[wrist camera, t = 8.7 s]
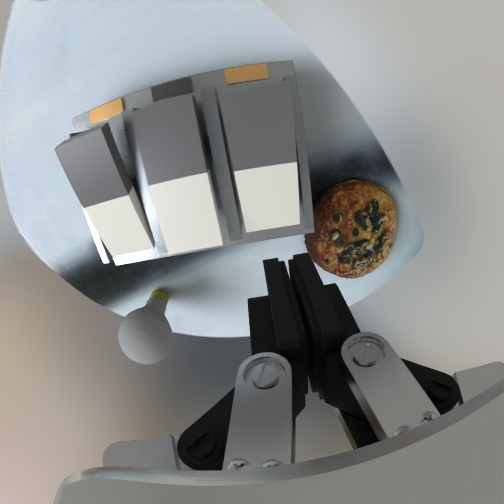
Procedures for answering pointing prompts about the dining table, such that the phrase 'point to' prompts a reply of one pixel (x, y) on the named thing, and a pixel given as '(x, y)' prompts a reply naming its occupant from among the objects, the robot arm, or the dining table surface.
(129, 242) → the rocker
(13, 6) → the dining table surface
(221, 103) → the rocker
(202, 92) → the switch box
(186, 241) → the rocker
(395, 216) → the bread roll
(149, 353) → the light bulb
